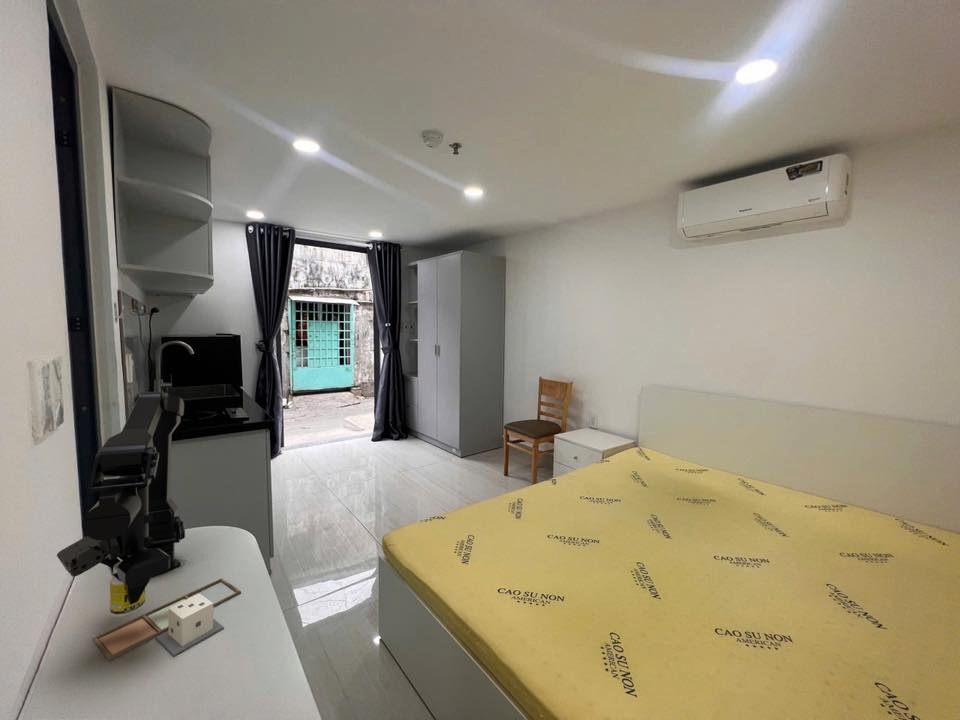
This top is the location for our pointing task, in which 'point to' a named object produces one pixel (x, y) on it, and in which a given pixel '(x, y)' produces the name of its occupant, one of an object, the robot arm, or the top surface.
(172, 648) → the mat
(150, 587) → the top surface
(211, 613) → the die
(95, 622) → the top surface
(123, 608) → the supplement bottle
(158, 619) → the tray
